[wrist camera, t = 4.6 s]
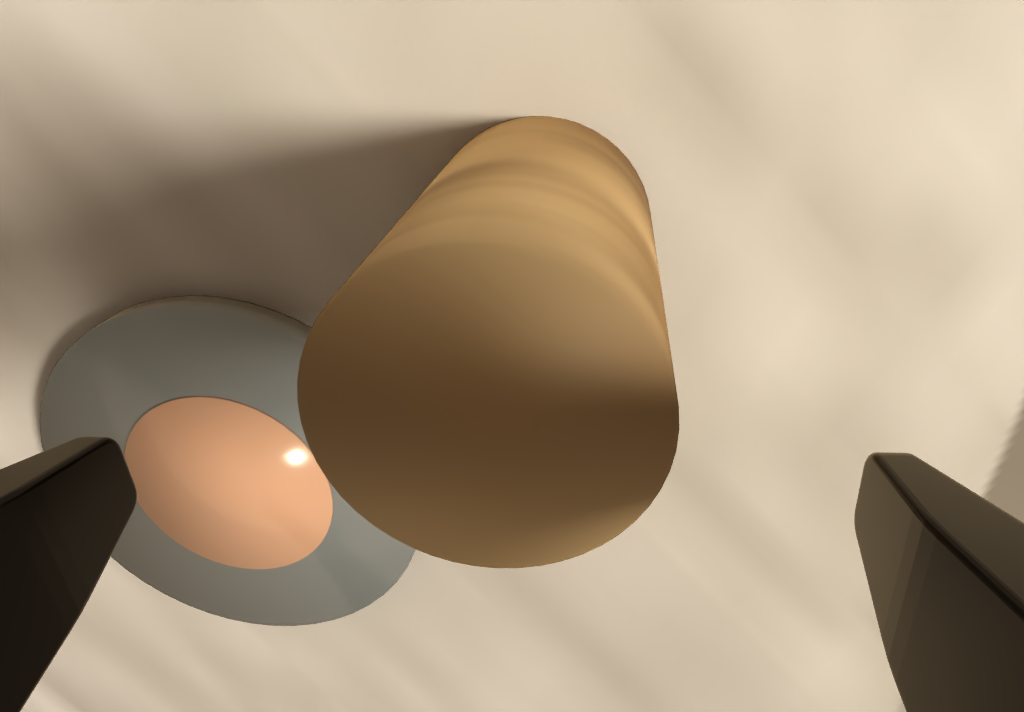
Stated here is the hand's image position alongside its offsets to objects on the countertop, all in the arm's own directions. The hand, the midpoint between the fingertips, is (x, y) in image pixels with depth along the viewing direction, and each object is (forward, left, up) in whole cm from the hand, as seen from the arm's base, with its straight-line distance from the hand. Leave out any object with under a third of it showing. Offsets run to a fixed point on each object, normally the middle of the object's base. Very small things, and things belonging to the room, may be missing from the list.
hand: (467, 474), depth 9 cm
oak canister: (0, 0, -9) cm, 9 cm away
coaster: (-7, +9, -9) cm, 14 cm away
